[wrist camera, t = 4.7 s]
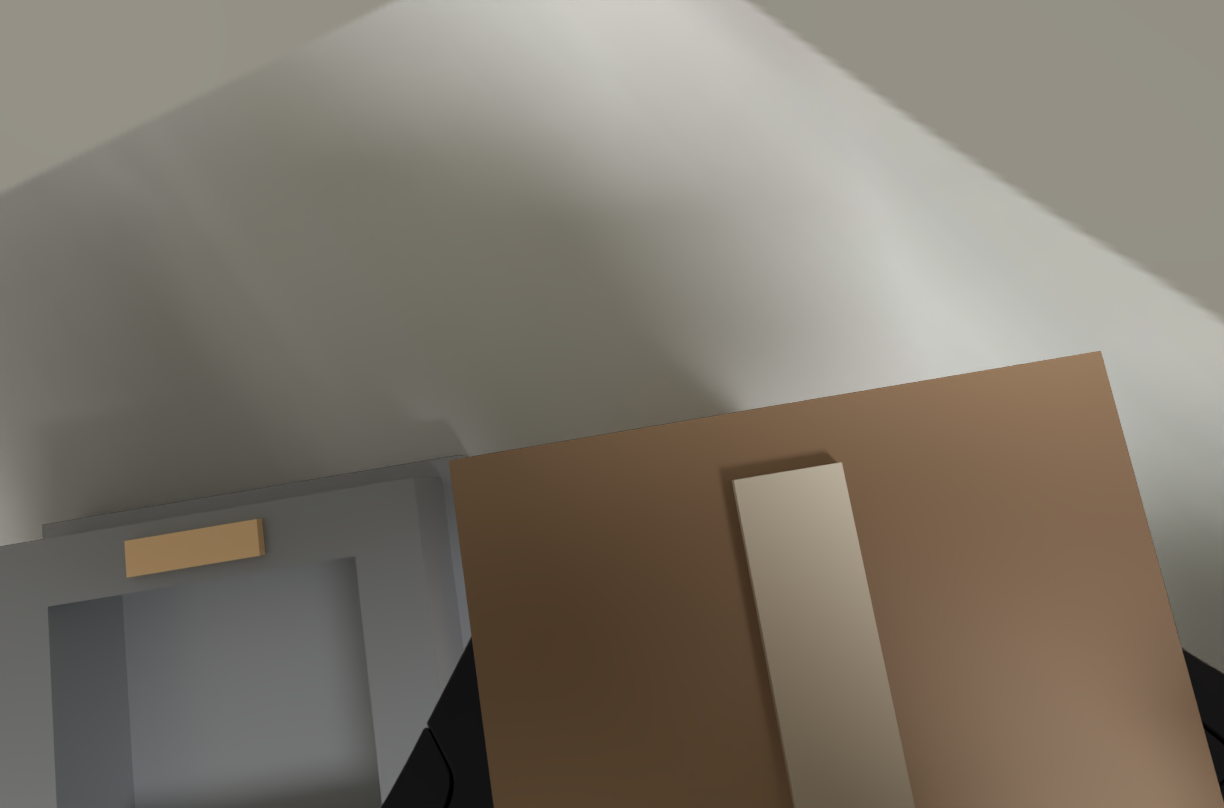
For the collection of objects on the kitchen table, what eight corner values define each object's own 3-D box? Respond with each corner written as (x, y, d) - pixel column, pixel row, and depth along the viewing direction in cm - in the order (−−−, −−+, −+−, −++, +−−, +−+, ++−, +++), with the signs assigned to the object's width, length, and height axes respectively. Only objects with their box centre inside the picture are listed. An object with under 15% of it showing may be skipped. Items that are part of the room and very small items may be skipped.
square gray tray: (527, 892, 15) (499, 999, 12) (99, 958, 16) (-38, 1080, 12) (468, 456, 17) (429, 450, 14) (76, 522, 17) (-51, 531, 14)
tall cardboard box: (804, 635, 16) (1322, 1112, 4) (613, 666, 16) (544, 1223, 4) (766, 443, 17) (1110, 348, 5) (583, 474, 17) (444, 459, 5)
